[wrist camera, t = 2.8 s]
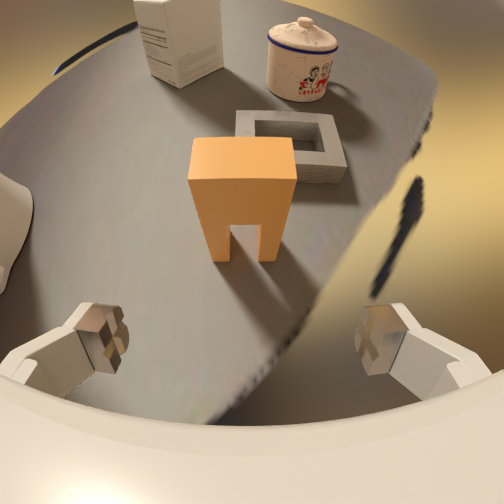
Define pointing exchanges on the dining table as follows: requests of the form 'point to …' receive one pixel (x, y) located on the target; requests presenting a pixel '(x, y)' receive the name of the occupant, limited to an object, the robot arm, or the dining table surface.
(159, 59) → the supplement box
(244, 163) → the orange notched arch block
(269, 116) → the rectangular frame block
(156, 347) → the dining table surface
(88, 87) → the dining table surface
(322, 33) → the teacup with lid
